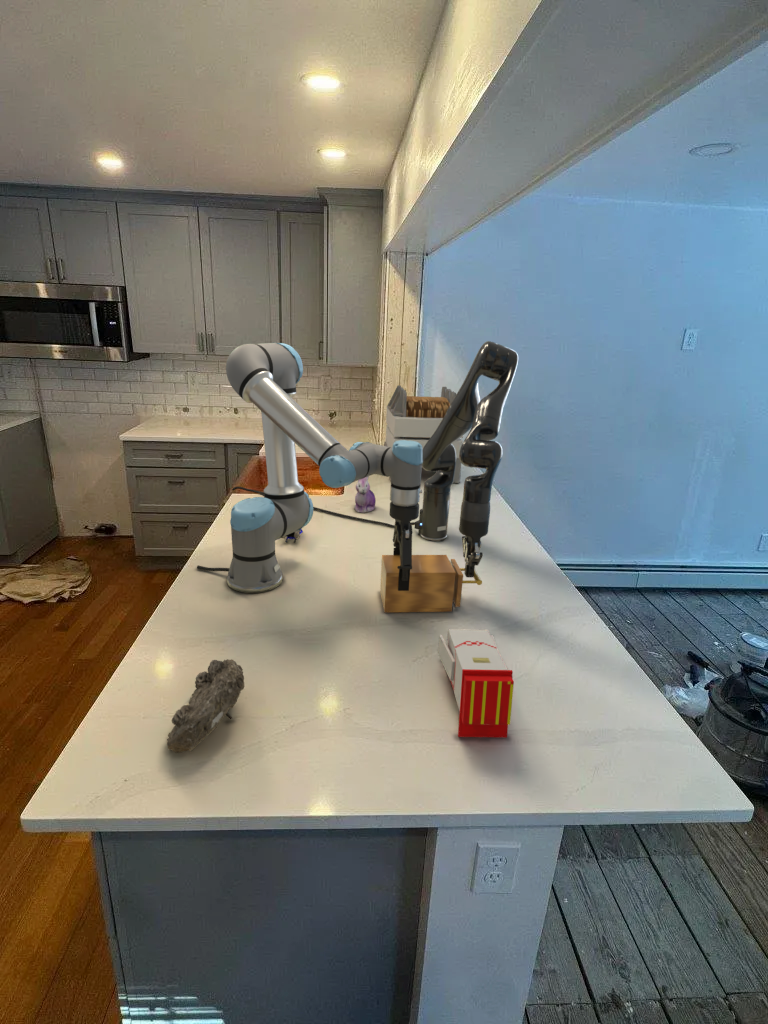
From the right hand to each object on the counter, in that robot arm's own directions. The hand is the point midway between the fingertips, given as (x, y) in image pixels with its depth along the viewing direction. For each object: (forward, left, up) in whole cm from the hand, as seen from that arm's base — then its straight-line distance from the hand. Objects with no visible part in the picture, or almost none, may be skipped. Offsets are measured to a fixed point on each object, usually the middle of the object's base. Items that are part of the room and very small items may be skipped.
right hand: (468, 576), depth 153 cm
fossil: (-16, -73, -8) cm, 75 cm away
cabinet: (-11, -9, -8) cm, 16 cm away
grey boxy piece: (-78, +100, -8) cm, 127 cm away
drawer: (-6, -6, -7) cm, 11 cm away
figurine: (-66, +41, -8) cm, 78 cm away
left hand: (-14, -12, -1) cm, 19 cm away
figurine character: (-67, +2, -8) cm, 68 cm away
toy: (+19, -35, -8) cm, 40 cm away
